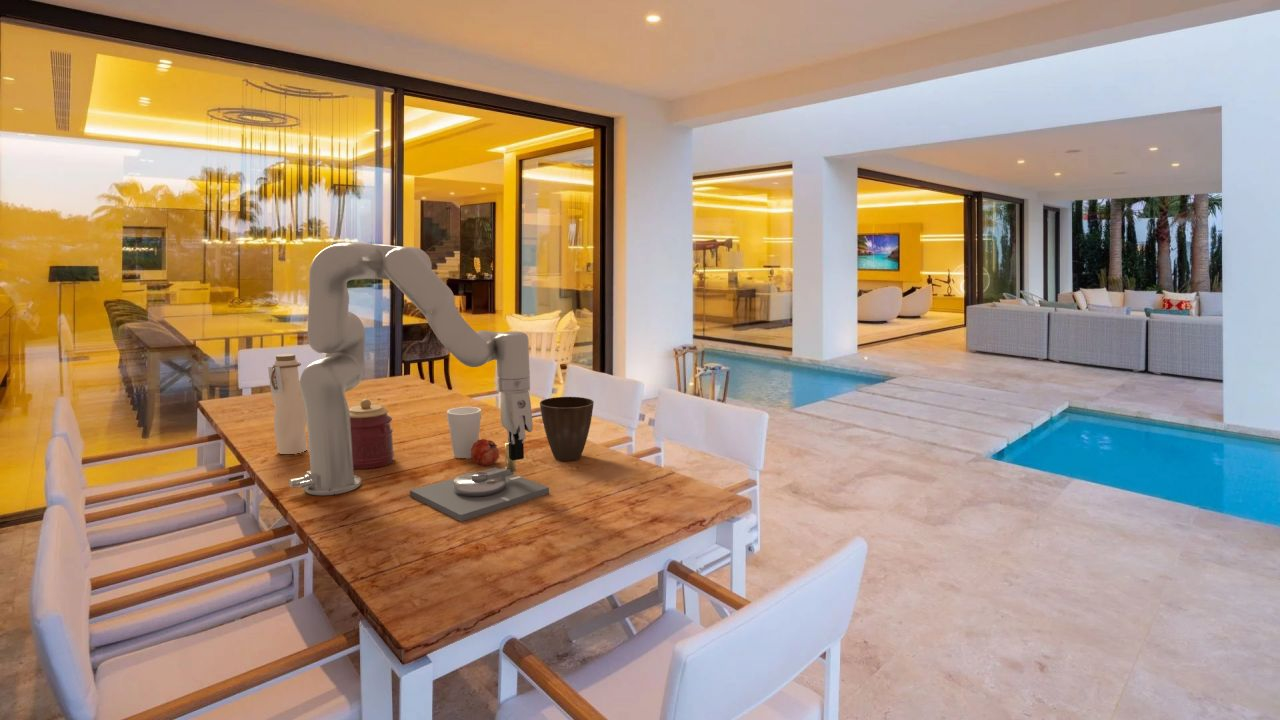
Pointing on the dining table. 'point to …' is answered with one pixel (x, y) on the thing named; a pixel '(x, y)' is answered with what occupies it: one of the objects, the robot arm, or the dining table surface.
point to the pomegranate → (484, 452)
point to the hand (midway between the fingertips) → (516, 458)
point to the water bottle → (288, 405)
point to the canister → (371, 435)
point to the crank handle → (485, 479)
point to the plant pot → (567, 425)
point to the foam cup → (464, 429)
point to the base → (471, 507)
